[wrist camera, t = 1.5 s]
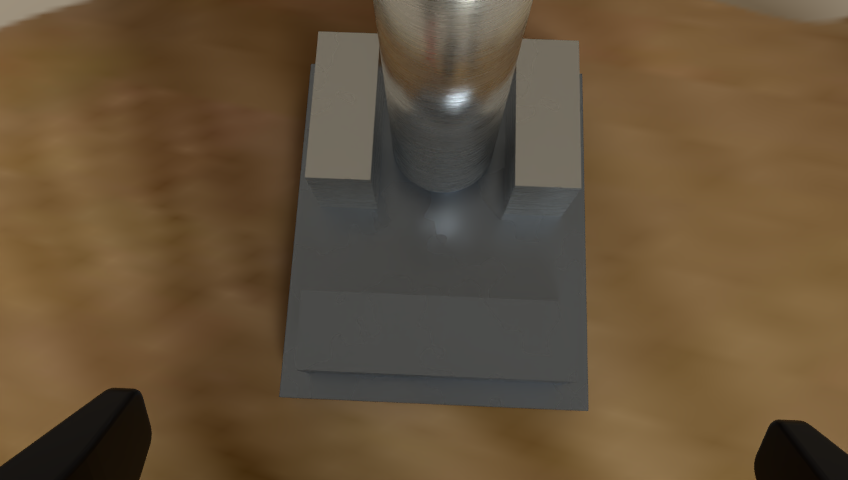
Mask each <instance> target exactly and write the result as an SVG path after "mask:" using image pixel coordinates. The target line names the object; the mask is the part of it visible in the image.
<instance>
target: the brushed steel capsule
mask: <svg viewBox="0 0 848 480" xmlns="http://www.w3.org/2000/svg"><path fill="white" fill-rule="evenodd" d="M532 1H533V0H373V2H374V9H375V17H376V24H377V32H378V39H379V47H380V54H381V62H382V69H383V77H384V84H385V92H386V99H387V107H388V114H389V122H390V129H391V137H392V144H393V151H394V156H395V160H396V162H397V165H398V167H399V168H400V170H401V171H402V173H403V174H404V175H405V176H406V177H407V178H408V179H409V180H410V181H411V182H413V183H414V184H416V185H417V186H419V187H421V188H424V189H426V190H429V191H434V192H453V191H458V190H461V189H463V188H466V187H468V186H470V185H471V184H473V183H474V182H476V181H477V180H478V179H479V178H480V177H481V176H482V175H483V174H484V173H485V171H486V170H487V168H488V166H489V164H490V162H491V159H492V156H493V152H494V148H495V144H496V140H497V136H498V132H499V128H500V125H501V121H502V117H503V113H504V109H505V105H506V101H507V98H508V94H509V90H510V86H511V82H512V78H513V74H514V70H515V67H516V63H517V59H518V55H519V51H520V47H521V43H522V39H523V36H524V32H525V28H526V24H527V20H528V16H529V12H530V9H531V5H532Z"/></svg>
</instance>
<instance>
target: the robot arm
mask: <svg viewBox="0 0 848 480" xmlns="http://www.w3.org/2000/svg"><path fill="white" fill-rule="evenodd" d="M151 435H152V432H151V425H150V422H149V418H148V414H147V411H146V407H145V403H144V400H143V396H142V394H141V392H140V391H139V390H137V389H130V388H110V389H108V390H106V391H104V392H103V393H101V394H100V395H98V396H97V397H96V398H94V399H93V400H92V401H90V402H89V403H87V404H86V405H85V406H83V407H82V408H80V409H79V410H78V411H76V412H75V413H74V414H72V415H71V416H69V417H68V418H67V419H65V420H64V421H63V422H61V423H60V424H58V425H57V426H56V427H54V428H53V429H52V430H50V431H49V432H47V433H46V434H45V435H43V436H42V437H40V438H39V439H38V440H36V441H35V442H34V443H32V444H31V445H29V446H28V447H27V448H25V449H24V450H23V451H21V452H20V453H18V454H17V455H16V456H14V457H13V458H11V459H10V460H9V461H7V462H6V463H5V464H3V465H2V466H0V480H139V479H140V476H141V472H142V469H143V466H144V463H145V460H146V456H147V453H148V450H149V447H150V443H151ZM754 470H755V476H756V480H848V454H847V453H845V452H844V451H843V450H842V449H840V448H839V447H838V446H836V445H835V444H834V443H833V442H831V441H830V440H829V439H828V438H826V437H825V436H824V435H822V434H821V433H820V432H819V431H817V430H816V429H815V428H814V427H812V426H811V425H809V424H808V423H806V422H804V421H798V420H775V421H773V422H772V423H771V424H770V425H769V427H768V430H767V432H766V434H765V436H764V439H763V441H762V443H761V446H760V448H759V450H758V452H757V455H756V458H755V462H754Z"/></svg>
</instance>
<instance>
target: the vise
mask: <svg viewBox="0 0 848 480" xmlns="http://www.w3.org/2000/svg"><path fill="white" fill-rule="evenodd" d="M279 397H287V398H307V399H329V400H352V401H374V402H396V403H419V404H441V405H463V406H486V407H508V408H530V409H553V410H575V411H588V367H587V313H586V258H585V204H584V150H583V96H582V74H579V41H571V40H543V39H522V43H521V47H520V51H519V55H518V59H517V63H516V67H515V70H514V74H513V78H512V82H511V86H510V90H509V94H508V98H507V101H506V105H505V109H504V113H503V117H502V121H501V125H500V128H499V132H498V136H497V140H496V144H495V148H494V152H493V156H492V159H491V162H490V164H489V166H488V168H487V170H486V171H485V173H484V174H483V175H482V176H481V177H480V178H479V179H478V180H477V181H476V182H474V183H473V184H471V185H470V186H468V187H466V188H463V189H461V190H458V191H453V192H434V191H429V190H426V189H424V188H421V187H419V186H417V185H416V184H414V183H413V182H411V181H410V180H409V179H408V178H407V177H406V176H405V175H404V174H403V173H402V171H401V170H400V168H399V167H398V165H397V162H396V160H395V156H394V151H393V144H392V137H391V129H390V122H389V114H388V107H387V99H386V92H385V84H384V77H383V69H382V62H381V54H380V47H379V39H378V34H376V33H348V32H320V31H318V42H317V53H316V63H315V64H311V71H310V82H309V92H308V103H307V113H306V123H305V134H304V144H303V155H302V165H301V176H300V186H299V197H298V207H297V217H296V228H295V238H294V249H293V259H292V270H291V280H290V291H289V301H288V311H287V322H286V332H285V343H284V353H283V364H282V374H281V384H280V395H279Z"/></svg>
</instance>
